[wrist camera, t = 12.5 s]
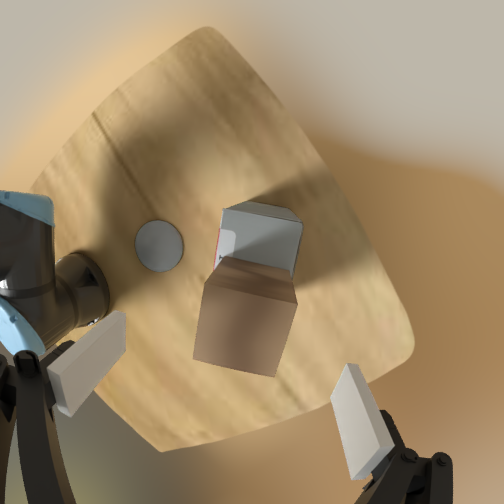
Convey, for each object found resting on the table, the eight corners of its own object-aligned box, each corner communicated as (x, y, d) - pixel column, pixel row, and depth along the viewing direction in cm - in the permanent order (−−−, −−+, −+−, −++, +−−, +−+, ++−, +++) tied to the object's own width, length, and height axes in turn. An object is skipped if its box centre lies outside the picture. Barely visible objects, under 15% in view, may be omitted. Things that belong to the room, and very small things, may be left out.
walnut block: (213, 314, 26) (192, 358, 18) (224, 255, 25) (204, 283, 17) (273, 327, 26) (274, 377, 18) (289, 270, 25) (297, 304, 17)
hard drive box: (243, 199, 43) (223, 203, 24) (291, 208, 43) (308, 219, 24) (228, 290, 47) (201, 353, 27) (272, 299, 47) (272, 367, 27)
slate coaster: (134, 263, 47) (132, 264, 46) (140, 215, 45) (138, 215, 45) (179, 276, 47) (177, 277, 46) (187, 226, 45) (186, 226, 44)
